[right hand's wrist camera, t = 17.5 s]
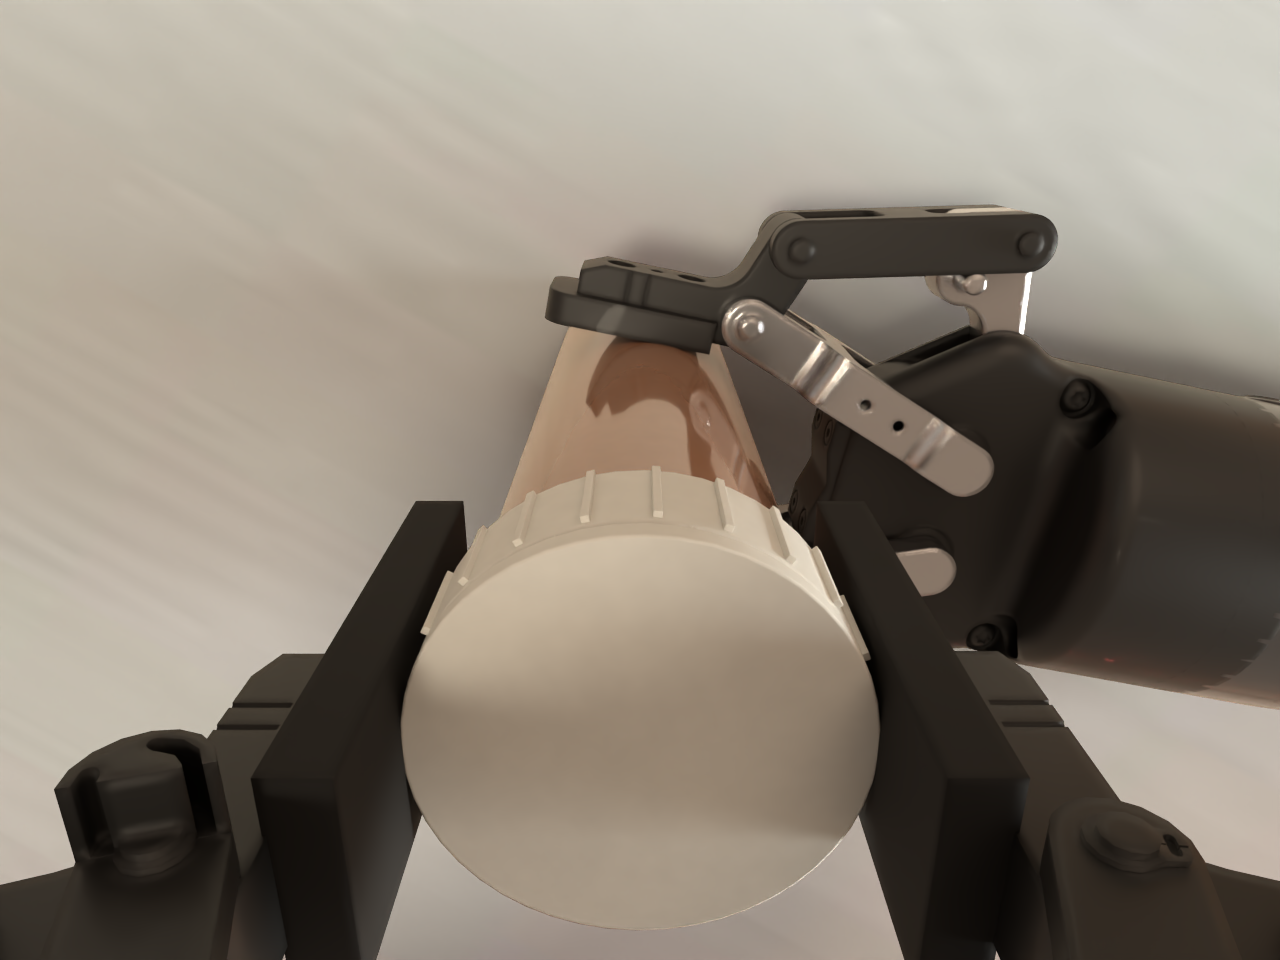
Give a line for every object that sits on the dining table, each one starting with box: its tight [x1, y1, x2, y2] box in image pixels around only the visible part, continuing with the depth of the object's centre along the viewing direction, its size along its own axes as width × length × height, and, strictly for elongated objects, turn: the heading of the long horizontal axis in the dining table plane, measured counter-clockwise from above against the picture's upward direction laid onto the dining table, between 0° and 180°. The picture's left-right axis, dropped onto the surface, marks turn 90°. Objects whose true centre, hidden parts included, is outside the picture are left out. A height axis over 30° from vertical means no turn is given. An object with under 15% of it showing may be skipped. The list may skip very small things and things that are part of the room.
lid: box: [400, 466, 880, 930], centre depth 12 cm, size 6×6×2 cm
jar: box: [499, 327, 778, 519], centre depth 19 cm, size 5×5×18 cm
